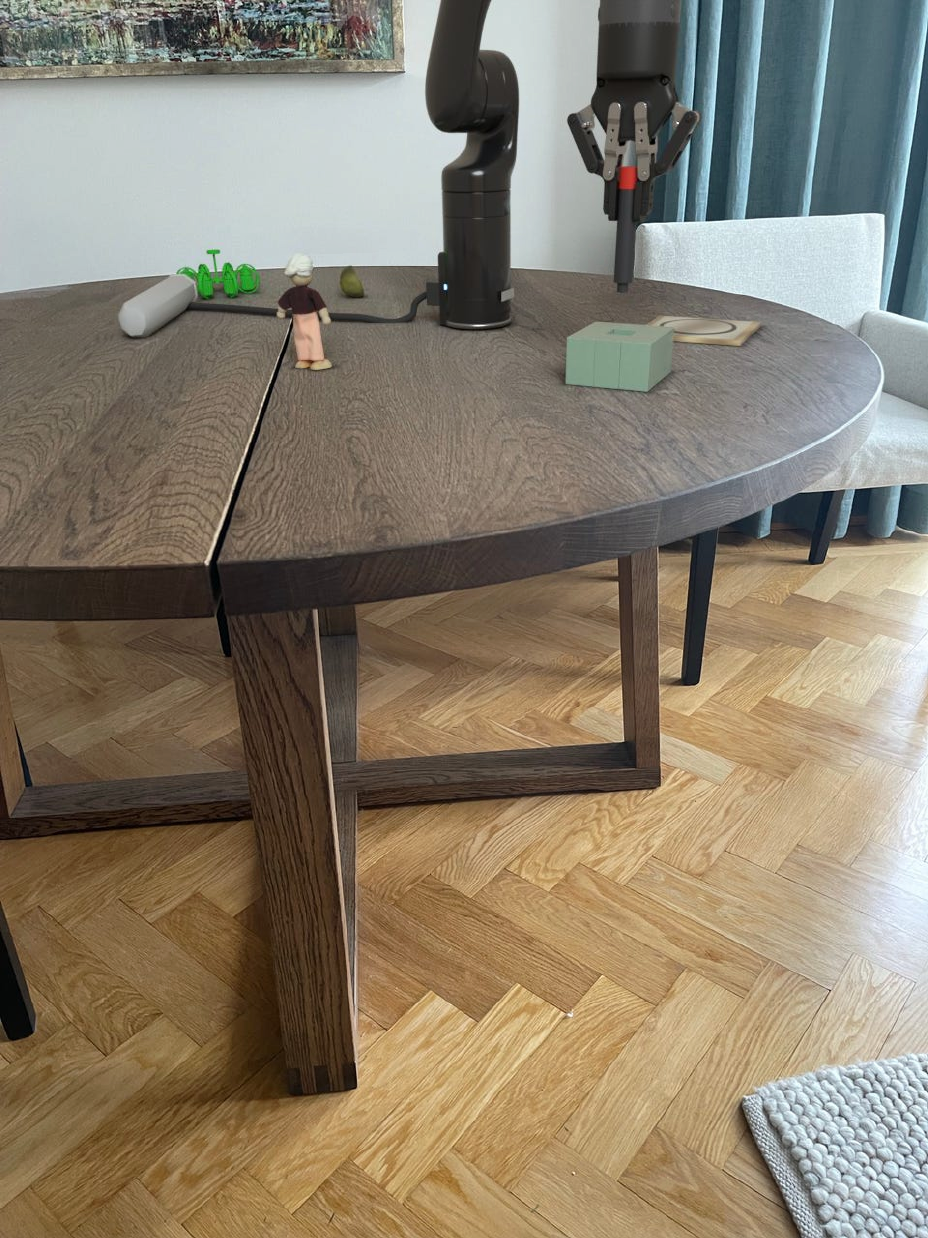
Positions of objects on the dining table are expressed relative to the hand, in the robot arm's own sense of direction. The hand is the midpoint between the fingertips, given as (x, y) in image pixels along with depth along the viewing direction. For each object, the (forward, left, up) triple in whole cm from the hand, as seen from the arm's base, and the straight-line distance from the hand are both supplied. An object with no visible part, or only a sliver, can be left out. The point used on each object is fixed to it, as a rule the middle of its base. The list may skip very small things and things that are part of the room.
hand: (626, 219), depth 96 cm
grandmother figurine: (-36, -8, -16) cm, 40 cm away
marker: (0, 0, -7) cm, 7 cm away
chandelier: (-82, +31, -16) cm, 89 cm away
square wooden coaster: (+2, +27, -16) cm, 32 cm away
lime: (-57, +35, -16) cm, 69 cm away
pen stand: (0, 0, -16) cm, 16 cm away
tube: (-73, +7, -16) cm, 75 cm away
